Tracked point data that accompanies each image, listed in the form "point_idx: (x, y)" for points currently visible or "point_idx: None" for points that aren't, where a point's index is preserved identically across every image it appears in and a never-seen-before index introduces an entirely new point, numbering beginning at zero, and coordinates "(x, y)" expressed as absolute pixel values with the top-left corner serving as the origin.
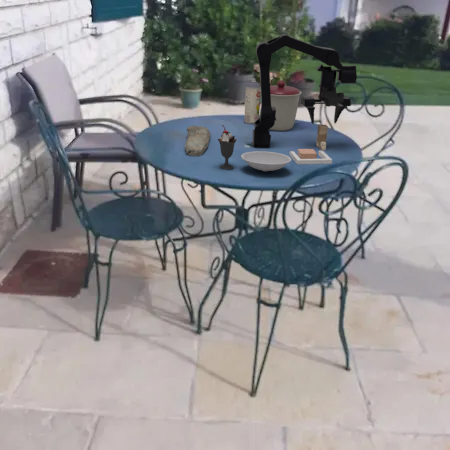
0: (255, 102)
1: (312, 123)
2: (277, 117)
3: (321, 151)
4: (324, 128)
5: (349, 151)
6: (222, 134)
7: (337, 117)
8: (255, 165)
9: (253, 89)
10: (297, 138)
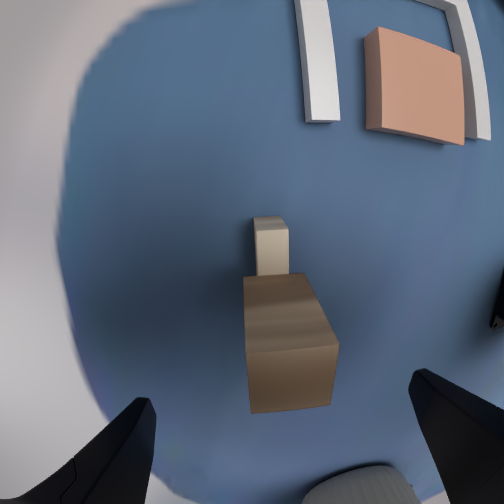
0: None
1: (424, 369)
2: (397, 498)
3: (324, 97)
4: (284, 336)
5: (97, 196)
6: None
7: (105, 444)
8: None
9: None
10: (338, 415)
